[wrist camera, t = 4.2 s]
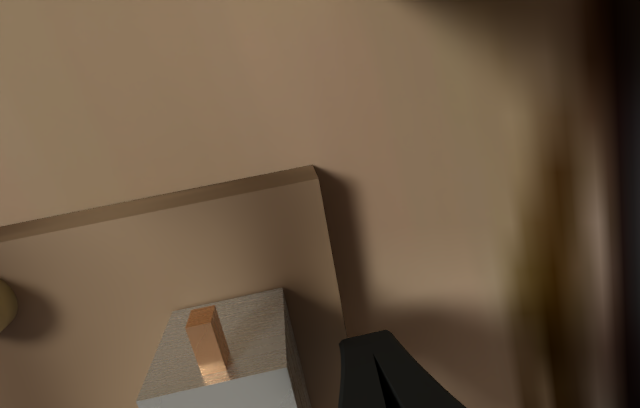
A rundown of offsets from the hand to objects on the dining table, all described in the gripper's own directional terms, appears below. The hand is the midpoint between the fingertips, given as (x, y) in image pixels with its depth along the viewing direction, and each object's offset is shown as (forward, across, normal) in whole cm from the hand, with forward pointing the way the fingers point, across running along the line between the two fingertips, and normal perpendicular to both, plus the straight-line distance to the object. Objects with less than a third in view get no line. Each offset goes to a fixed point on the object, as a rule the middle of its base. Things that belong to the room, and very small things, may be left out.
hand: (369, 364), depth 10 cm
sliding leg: (+1, +3, 0) cm, 4 cm away
